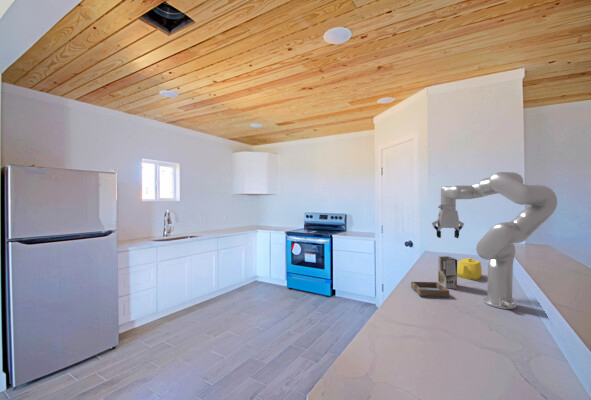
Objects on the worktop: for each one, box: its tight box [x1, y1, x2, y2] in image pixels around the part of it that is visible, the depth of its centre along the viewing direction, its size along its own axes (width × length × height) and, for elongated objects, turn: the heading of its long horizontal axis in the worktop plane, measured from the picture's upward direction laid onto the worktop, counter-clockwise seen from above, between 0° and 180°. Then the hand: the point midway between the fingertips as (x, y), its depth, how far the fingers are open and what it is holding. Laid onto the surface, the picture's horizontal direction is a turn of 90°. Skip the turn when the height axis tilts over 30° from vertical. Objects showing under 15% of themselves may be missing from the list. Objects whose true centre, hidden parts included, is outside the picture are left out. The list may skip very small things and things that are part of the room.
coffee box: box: [437, 255, 458, 289], centre depth 159 cm, size 9×6×16 cm
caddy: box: [410, 281, 450, 299], centre depth 148 cm, size 14×14×4 cm
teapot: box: [457, 257, 483, 281], centre depth 176 cm, size 20×12×12 cm, turn 134°
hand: (447, 237), depth 158 cm, fingers open, 9 cm apart
